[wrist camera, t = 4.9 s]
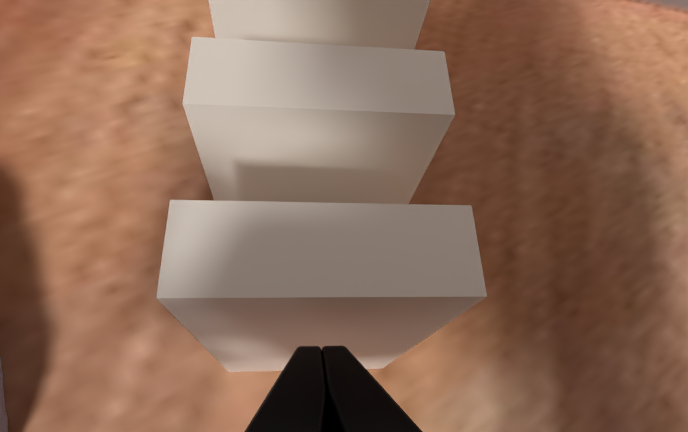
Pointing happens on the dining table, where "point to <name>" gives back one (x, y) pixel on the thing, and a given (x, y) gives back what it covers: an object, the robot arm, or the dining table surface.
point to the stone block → (2, 405)
